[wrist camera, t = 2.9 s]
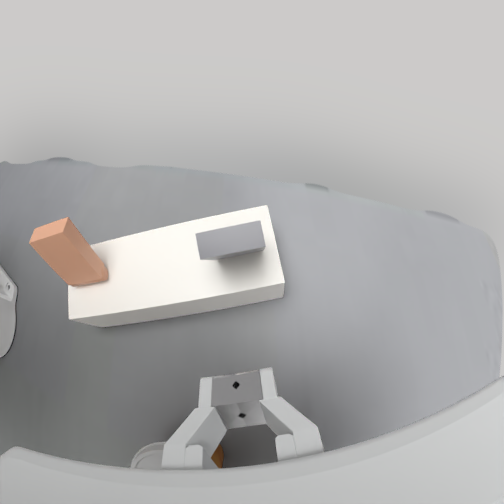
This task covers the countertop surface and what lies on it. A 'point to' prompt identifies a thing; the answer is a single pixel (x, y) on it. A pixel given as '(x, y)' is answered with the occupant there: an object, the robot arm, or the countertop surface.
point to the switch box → (177, 274)
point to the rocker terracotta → (68, 253)
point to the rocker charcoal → (231, 241)
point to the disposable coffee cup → (154, 452)
